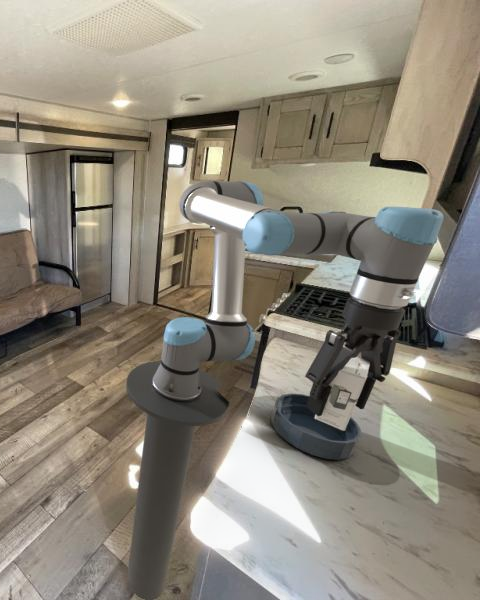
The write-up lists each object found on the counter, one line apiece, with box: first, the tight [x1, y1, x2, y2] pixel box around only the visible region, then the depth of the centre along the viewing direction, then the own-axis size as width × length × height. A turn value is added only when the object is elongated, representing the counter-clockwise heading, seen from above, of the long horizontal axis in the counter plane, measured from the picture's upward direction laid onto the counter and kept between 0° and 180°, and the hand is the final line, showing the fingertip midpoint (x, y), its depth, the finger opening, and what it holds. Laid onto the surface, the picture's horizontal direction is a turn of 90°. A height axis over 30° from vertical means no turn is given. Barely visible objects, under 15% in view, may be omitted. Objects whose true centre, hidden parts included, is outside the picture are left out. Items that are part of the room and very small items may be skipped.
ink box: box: [315, 356, 370, 431], centre depth 61 cm, size 9×5×12 cm, turn 136°
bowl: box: [270, 392, 362, 461], centre depth 84 cm, size 18×18×6 cm
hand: (334, 407), depth 63 cm, fingers closed on ink box, 9 cm apart
